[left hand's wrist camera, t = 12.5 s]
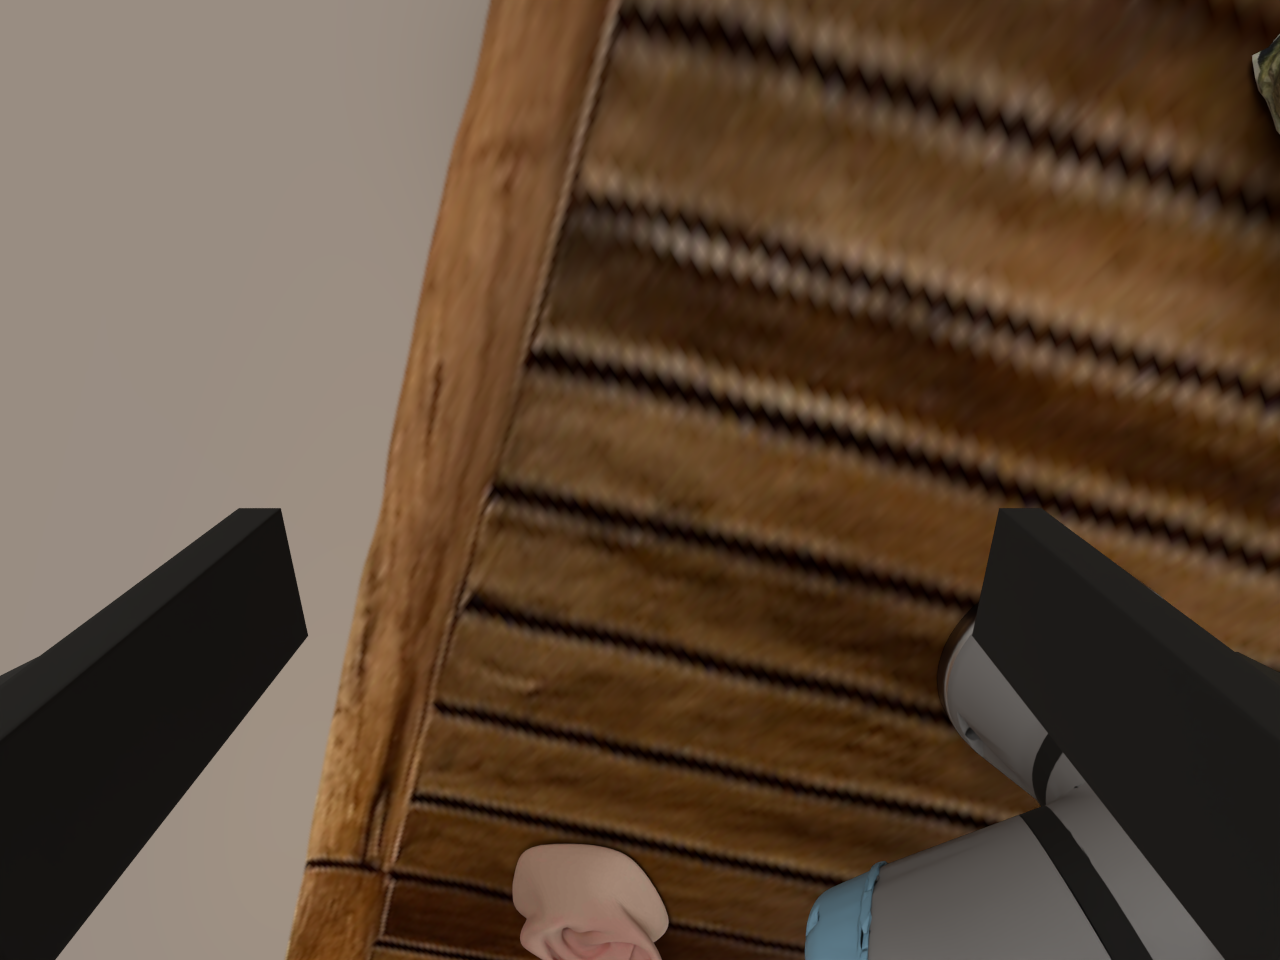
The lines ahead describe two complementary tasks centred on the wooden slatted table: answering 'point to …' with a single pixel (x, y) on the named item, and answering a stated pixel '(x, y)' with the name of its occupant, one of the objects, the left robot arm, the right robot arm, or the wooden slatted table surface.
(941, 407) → the wooden slatted table surface
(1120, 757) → the left robot arm
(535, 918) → the anatomical model
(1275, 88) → the fossil
